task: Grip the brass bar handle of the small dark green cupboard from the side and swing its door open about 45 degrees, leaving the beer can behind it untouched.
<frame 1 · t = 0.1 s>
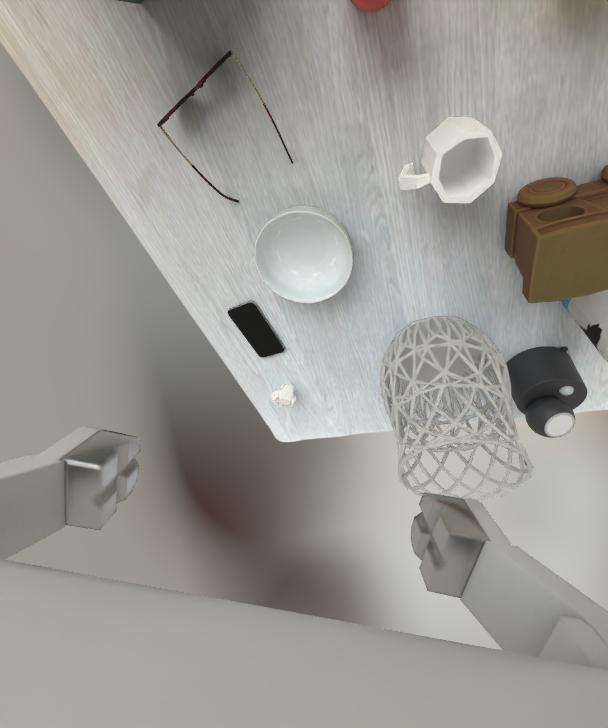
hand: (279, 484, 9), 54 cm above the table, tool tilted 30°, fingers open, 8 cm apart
elephant figurine: (286, 386, 90), on the table
cereal bowl: (307, 243, 61), on the table
light fixture: (536, 367, 74), on the table
cup: (583, 294, 61), on the table
smartphone: (257, 329, 77), on the table
sunglasses: (235, 137, 51), on the table
mug: (436, 156, 49), on the table
wooden toy train: (567, 205, 52), on the table
vase: (433, 351, 75), on the table
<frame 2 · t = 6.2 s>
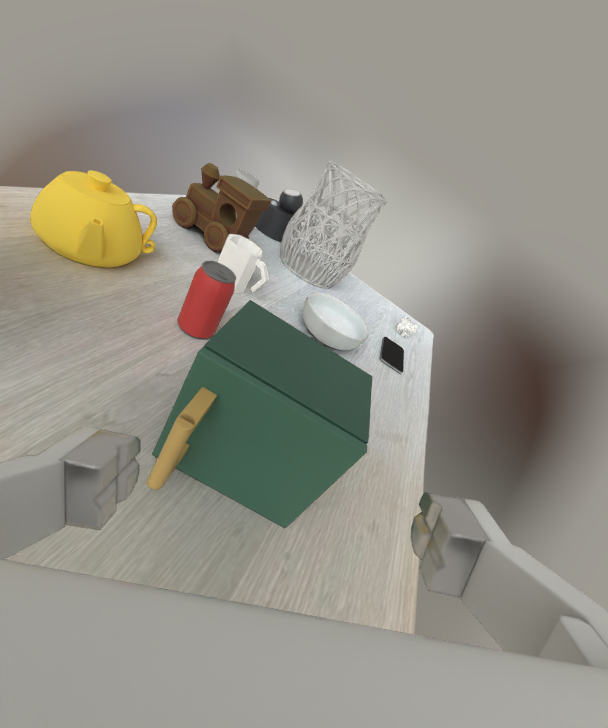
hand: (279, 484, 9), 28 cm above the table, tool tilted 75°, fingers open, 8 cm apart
elephant figurine: (400, 334, 111), on the table
cereal bowl: (323, 336, 82), on the table
light fixture: (269, 231, 119), on the table
cup: (229, 224, 104), on the table
smartphone: (391, 355, 94), on the table
door: (240, 469, 33), point 9 cm above the table, hinge at 0.0°
teapot: (95, 252, 60), on the table
cupboard: (241, 449, 45), on the table
mug: (235, 287, 77), on the table
wooden toy train: (207, 237, 89), on the table
beer can: (195, 328, 59), on the table
vase: (306, 270, 110), on the table
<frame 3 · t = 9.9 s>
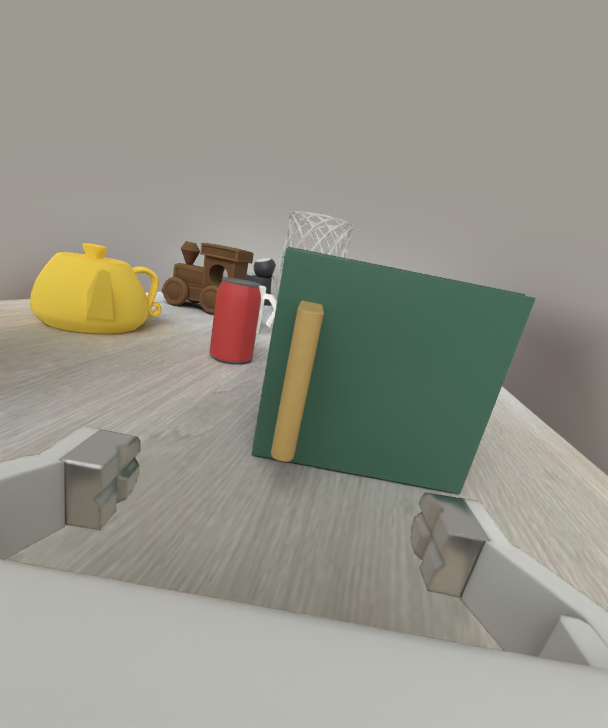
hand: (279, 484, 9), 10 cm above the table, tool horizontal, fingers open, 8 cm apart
light fixture: (254, 301, 122), on the table
door: (387, 393, 24), point 9 cm above the table, hinge at 0.0°
teapot: (103, 327, 56), on the table
cupboard: (348, 434, 35), on the table
mug: (249, 331, 73), on the table
wooden toy train: (203, 309, 88), on the table
beer can: (230, 359, 52), on the table
vase: (303, 316, 109), on the table
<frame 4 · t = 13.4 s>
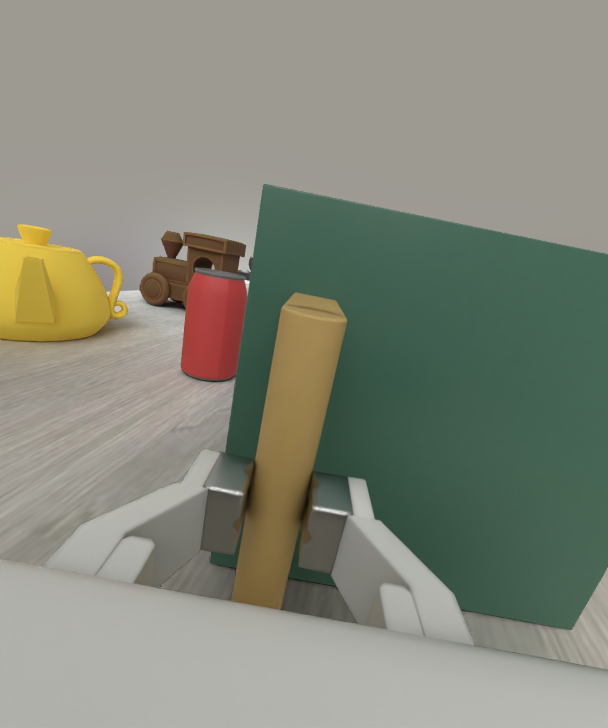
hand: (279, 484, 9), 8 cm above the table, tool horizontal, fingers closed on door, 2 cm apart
light fixture: (249, 301, 110), on the table
door: (468, 479, 12), point 9 cm above the table, hinge at 0.0°, touching gripper
teapot: (49, 332, 44), on the table
wooden toy train: (188, 310, 76), on the table
beer can: (208, 374, 40), on the table
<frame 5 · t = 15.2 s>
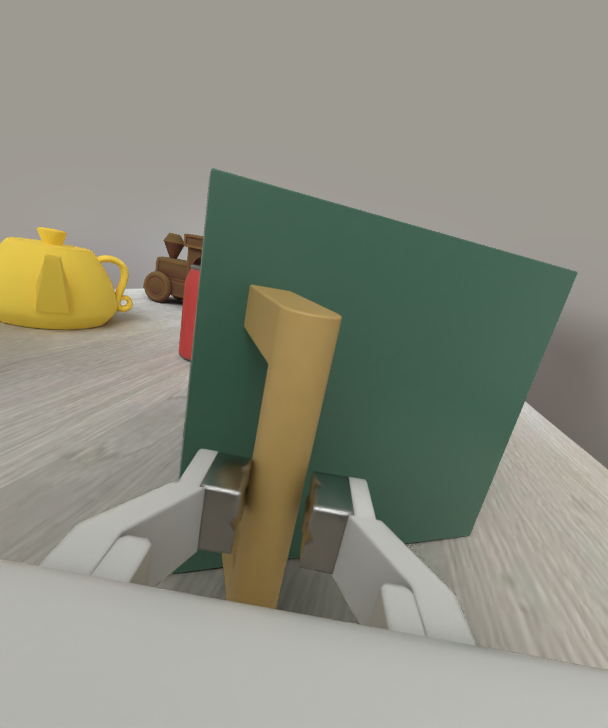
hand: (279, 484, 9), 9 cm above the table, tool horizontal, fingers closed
door: (412, 438, 14), point 9 cm above the table, hinge at 21.1°, touching gripper
teapot: (63, 322, 49), on the table
wooden toy train: (188, 306, 82), on the table
beer can: (203, 359, 46), on the table
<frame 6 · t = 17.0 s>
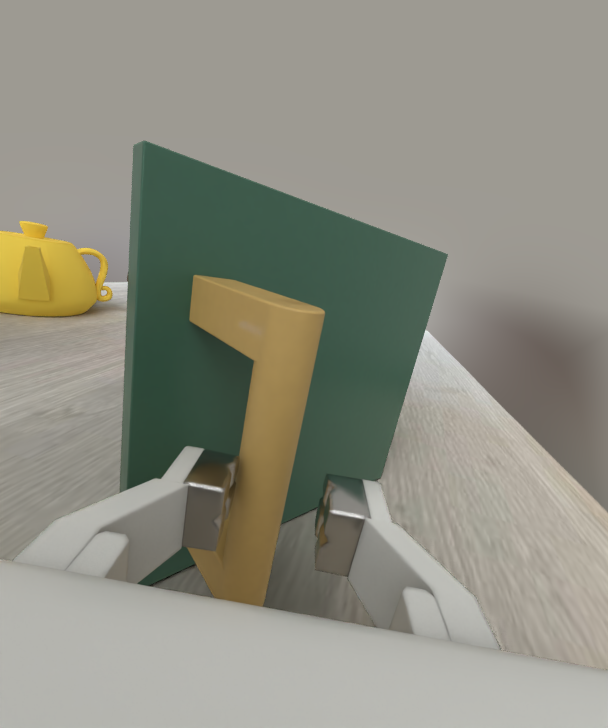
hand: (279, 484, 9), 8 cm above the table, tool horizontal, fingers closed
door: (349, 407, 16), point 9 cm above the table, hinge at 42.6°, touching gripper
teapot: (46, 310, 53), on the table
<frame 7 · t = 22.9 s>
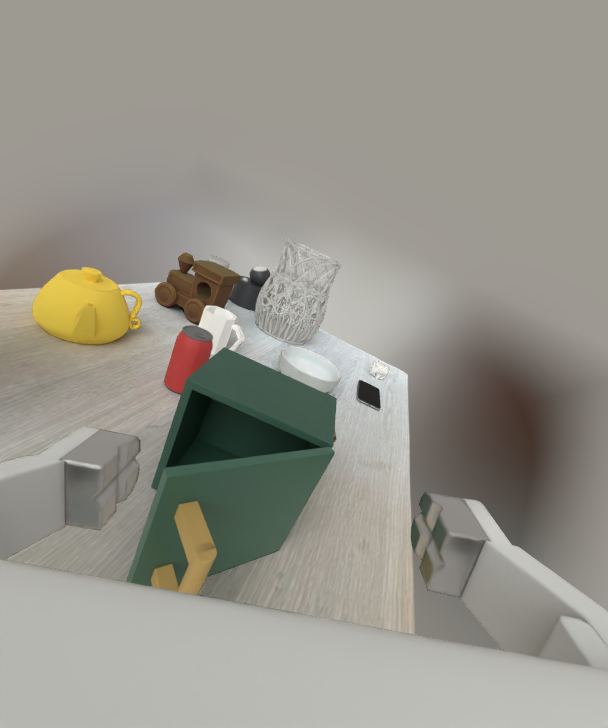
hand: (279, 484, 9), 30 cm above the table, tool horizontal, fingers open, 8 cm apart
elephant figurine: (375, 377, 120), on the table
cereal bowl: (301, 384, 89), on the table
light fixture: (244, 303, 133), on the table
cup: (206, 300, 117), on the table
smartphone: (367, 395, 101), on the table
door: (246, 542, 32), point 9 cm above the table, hinge at 42.6°
teapot: (88, 333, 68), on the table
cupboard: (230, 484, 49), on the table
mug: (215, 350, 85), on the table
wooden toy train: (187, 313, 100), on the table
beer can: (180, 386, 65), on the table
vase: (280, 331, 121), on the table
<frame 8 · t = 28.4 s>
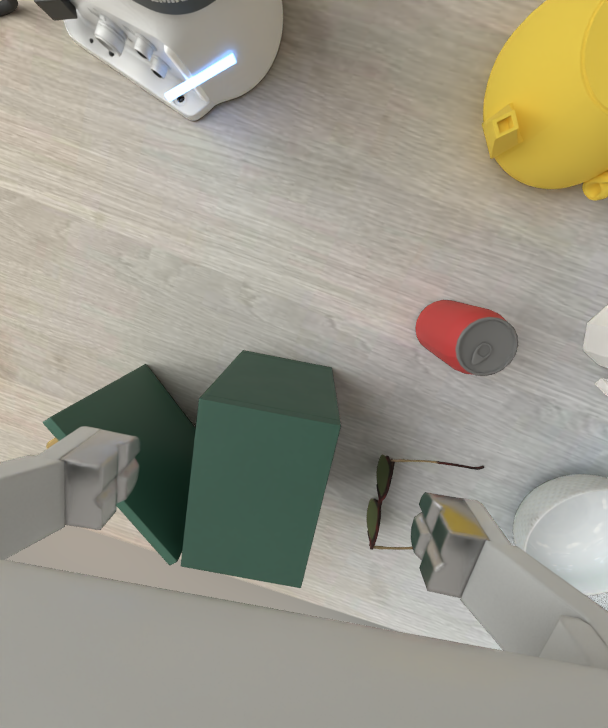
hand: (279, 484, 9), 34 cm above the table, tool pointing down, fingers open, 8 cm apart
cereal bowl: (555, 506, 49), on the table
door: (138, 459, 39), point 9 cm above the table, hinge at 42.6°
teapot: (539, 128, 36), on the table
cupboard: (276, 419, 46), on the table
sunglasses: (422, 491, 49), on the table
beer can: (439, 325, 42), on the table
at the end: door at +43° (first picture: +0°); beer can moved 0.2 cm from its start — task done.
